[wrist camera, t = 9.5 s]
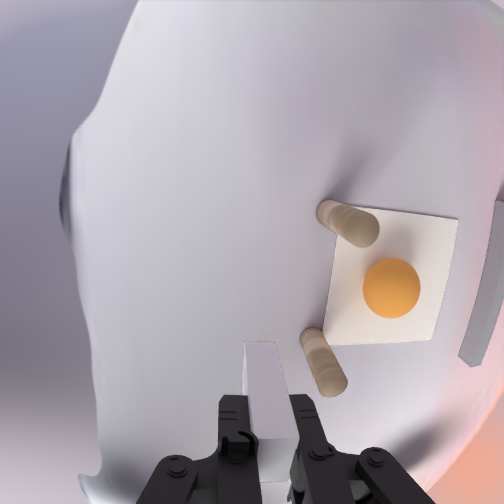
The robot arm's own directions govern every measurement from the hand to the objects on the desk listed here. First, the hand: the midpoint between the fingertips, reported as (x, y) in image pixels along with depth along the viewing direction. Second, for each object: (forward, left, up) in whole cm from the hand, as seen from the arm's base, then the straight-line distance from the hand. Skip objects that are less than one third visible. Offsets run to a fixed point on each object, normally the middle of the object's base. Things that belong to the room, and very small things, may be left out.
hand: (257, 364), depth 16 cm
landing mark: (0, -15, -14) cm, 20 cm away
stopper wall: (0, -29, -14) cm, 32 cm away
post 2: (+6, -7, -14) cm, 17 cm away
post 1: (-6, -7, -14) cm, 17 cm away
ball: (0, -13, -11) cm, 17 cm away
